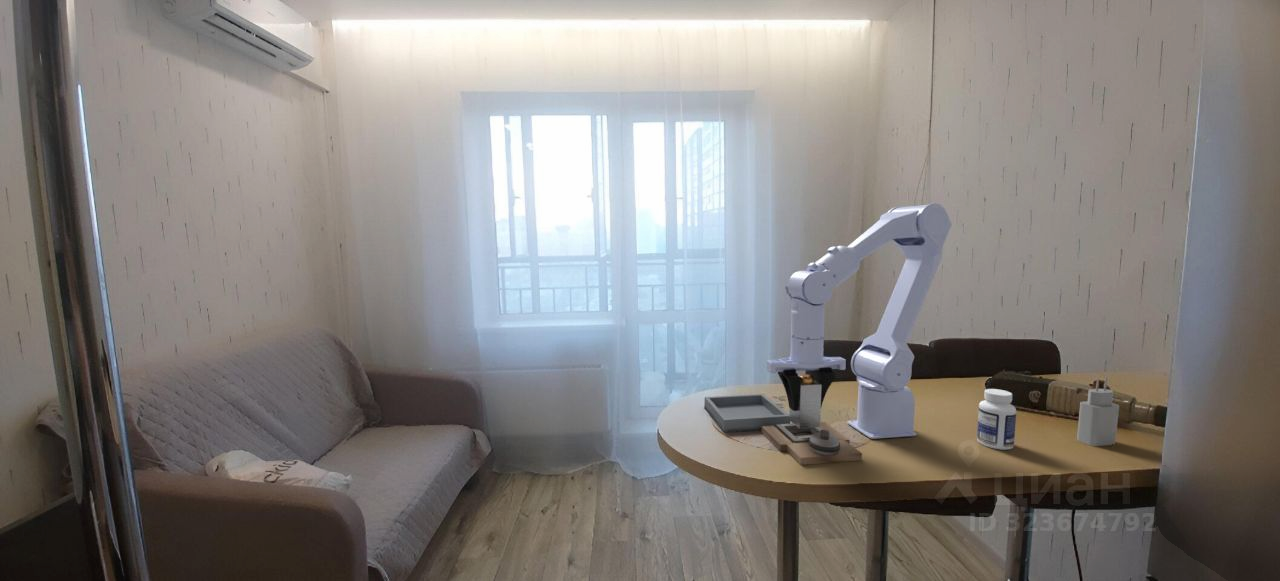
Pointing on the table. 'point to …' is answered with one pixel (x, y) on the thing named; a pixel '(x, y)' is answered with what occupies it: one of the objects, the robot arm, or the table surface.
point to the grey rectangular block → (807, 404)
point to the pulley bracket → (812, 443)
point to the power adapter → (1098, 418)
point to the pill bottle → (996, 420)
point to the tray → (745, 412)
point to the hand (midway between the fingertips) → (804, 408)
